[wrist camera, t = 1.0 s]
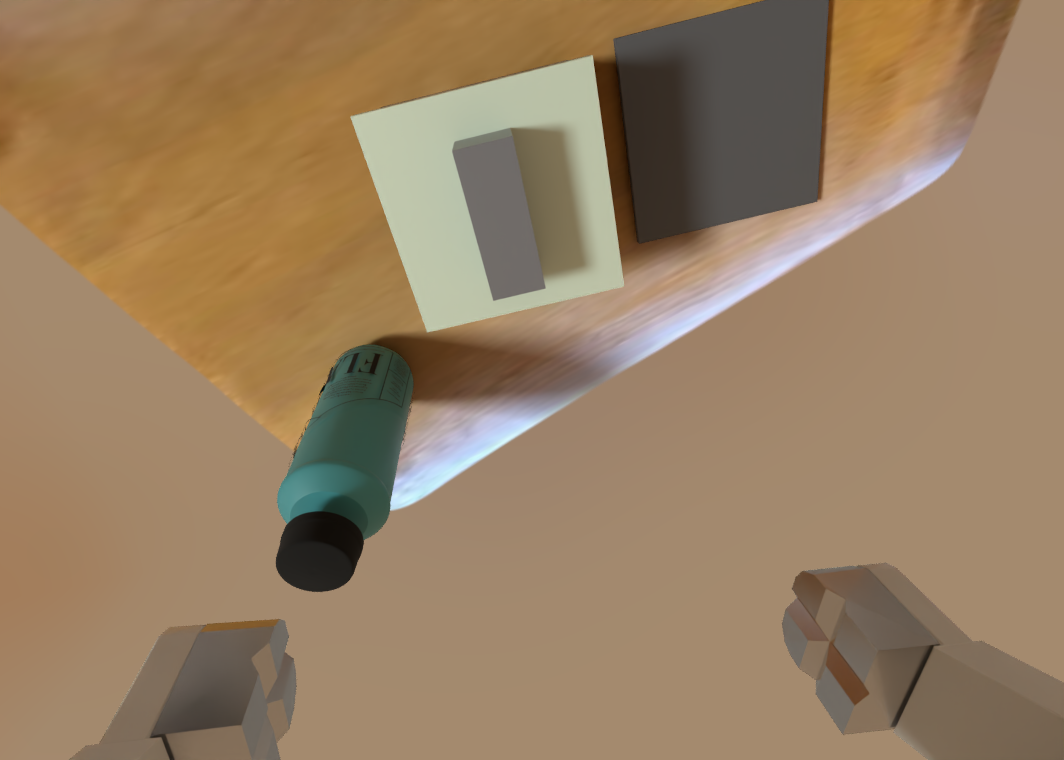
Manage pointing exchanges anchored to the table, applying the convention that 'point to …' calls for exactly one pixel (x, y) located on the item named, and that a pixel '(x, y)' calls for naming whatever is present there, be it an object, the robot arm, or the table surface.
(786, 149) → the rubber mat
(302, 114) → the table surface
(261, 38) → the table surface
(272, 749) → the robot arm
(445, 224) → the lid
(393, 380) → the beverage bottle
